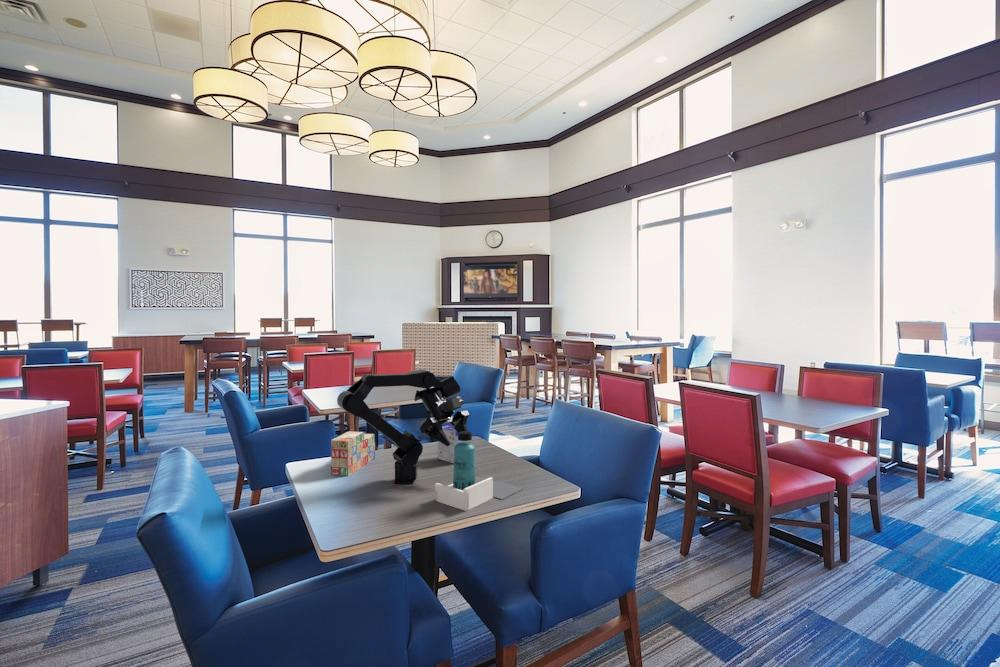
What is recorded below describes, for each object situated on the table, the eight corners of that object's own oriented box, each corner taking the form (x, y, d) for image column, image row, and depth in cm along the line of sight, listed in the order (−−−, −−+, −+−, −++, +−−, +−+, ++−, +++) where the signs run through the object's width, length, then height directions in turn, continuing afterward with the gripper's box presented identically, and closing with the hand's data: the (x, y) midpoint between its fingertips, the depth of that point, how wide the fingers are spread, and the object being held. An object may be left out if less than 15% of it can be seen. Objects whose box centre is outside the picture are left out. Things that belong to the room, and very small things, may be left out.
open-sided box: (435, 500, 137) (435, 480, 137) (462, 489, 147) (462, 469, 147) (466, 511, 130) (466, 489, 130) (492, 498, 140) (493, 477, 139)
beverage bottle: (454, 495, 142) (454, 429, 141) (476, 495, 142) (476, 429, 141) (451, 503, 135) (451, 434, 135) (474, 504, 135) (474, 434, 134)
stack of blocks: (359, 457, 180) (359, 425, 180) (375, 458, 179) (375, 426, 179) (330, 475, 159) (330, 439, 159) (348, 476, 158) (348, 440, 157)
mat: (456, 486, 149) (456, 485, 149) (478, 477, 158) (478, 476, 158) (502, 499, 138) (502, 498, 138) (523, 489, 147) (523, 488, 147)
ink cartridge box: (466, 461, 175) (466, 422, 175) (455, 464, 171) (455, 425, 171) (447, 456, 182) (447, 418, 181) (437, 459, 178) (437, 421, 177)
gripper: (426, 392, 146) (452, 433, 139) (466, 386, 161) (491, 422, 154) (408, 414, 151) (433, 454, 144) (448, 406, 166) (472, 442, 159)
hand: (458, 442), depth 150 cm, fingers open, 9 cm apart
